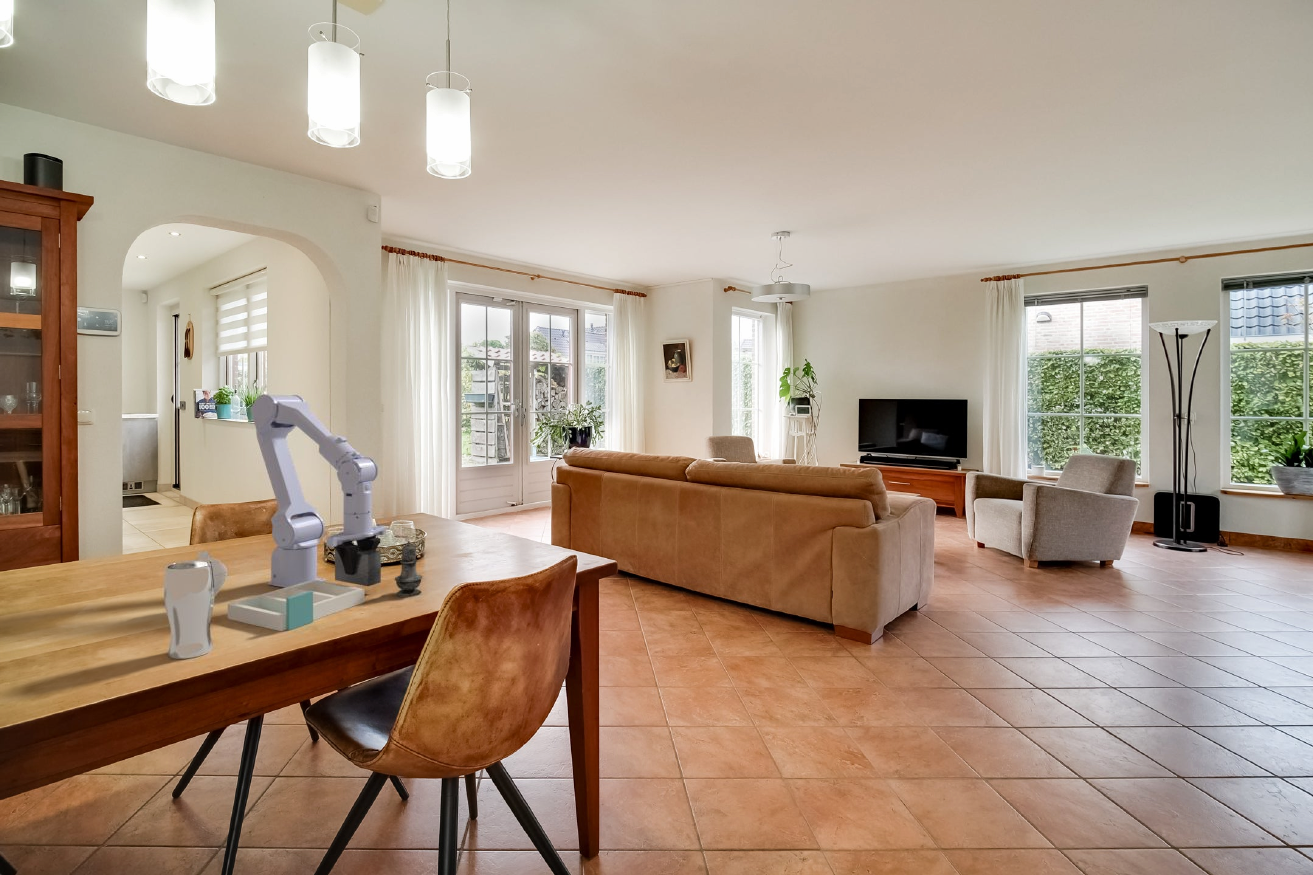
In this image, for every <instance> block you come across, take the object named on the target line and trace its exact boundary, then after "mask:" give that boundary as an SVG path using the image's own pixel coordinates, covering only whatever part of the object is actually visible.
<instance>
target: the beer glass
mask: <svg viewBox="0 0 1313 875" xmlns="http://www.w3.org/2000/svg"><path fill="white" fill-rule="evenodd" d="M164 570H165V571H164V581H163V582H164V584H163V598H164V605H165V606H164V607H165V611H166V615H167V619H168V623H169V628H170V643H169V648H168V655H167V657H168V658H169V659H173V660H174V659H175V660H186V659H193V658H197V657H200V656H203V655H206V654H208V653H210V652H212V650H213V649H214V644H213V639H212V635H211V622H212V621H211V620H212V617H213V610H214V605H215V597H216V596H215V587H216V585H215V572H214V562H213V561H210V560H196V559H192V560H183V561H179V562H178V561H177V562H173V563H171V564H168V565H166V566H165V567H164Z"/></svg>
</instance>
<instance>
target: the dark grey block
mask: <svg viewBox="0 0 1313 875" xmlns="http://www.w3.org/2000/svg"><path fill="white" fill-rule="evenodd" d="M381 553H382V551H379V550H376V551H374V550H367V549H361V548H359V549H358V552H357V556H356V568H355V574H354V575H348V574H345V570H344V567H343V563H342V561H341V558H340V556H339V554H338V552H337V551H336V549H335V548H334V580H335V581H337V582H343V583H347V584H348V583H349V584H353V585H357V586H358V585H359V586H363V587H371V586H374V585H376V584H381V581H382V580H381V577H382V576H381V575H382V573H381V572H382V568H381V567H382V554H381Z"/></svg>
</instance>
